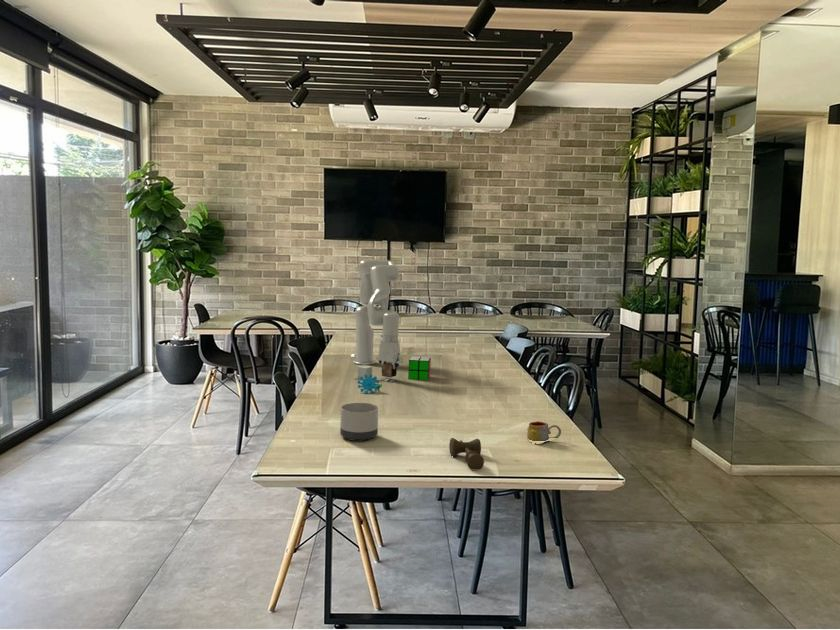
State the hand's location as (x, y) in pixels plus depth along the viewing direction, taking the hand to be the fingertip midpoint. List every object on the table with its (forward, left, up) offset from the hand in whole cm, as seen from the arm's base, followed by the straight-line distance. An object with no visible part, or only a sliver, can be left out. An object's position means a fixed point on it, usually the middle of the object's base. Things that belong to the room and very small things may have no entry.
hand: (388, 374), depth 309 cm
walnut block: (0, 0, -1) cm, 1 cm away
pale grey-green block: (-10, -5, -3) cm, 12 cm away
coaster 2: (+1, 0, -3) cm, 3 cm away
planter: (+42, -80, -3) cm, 91 cm away
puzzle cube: (+9, +15, -3) cm, 17 cm away
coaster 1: (-10, -5, -3) cm, 12 cm away
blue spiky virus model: (+6, -25, -3) cm, 26 cm away
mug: (+96, -46, -3) cm, 107 cm away
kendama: (+83, -78, -3) cm, 114 cm away
